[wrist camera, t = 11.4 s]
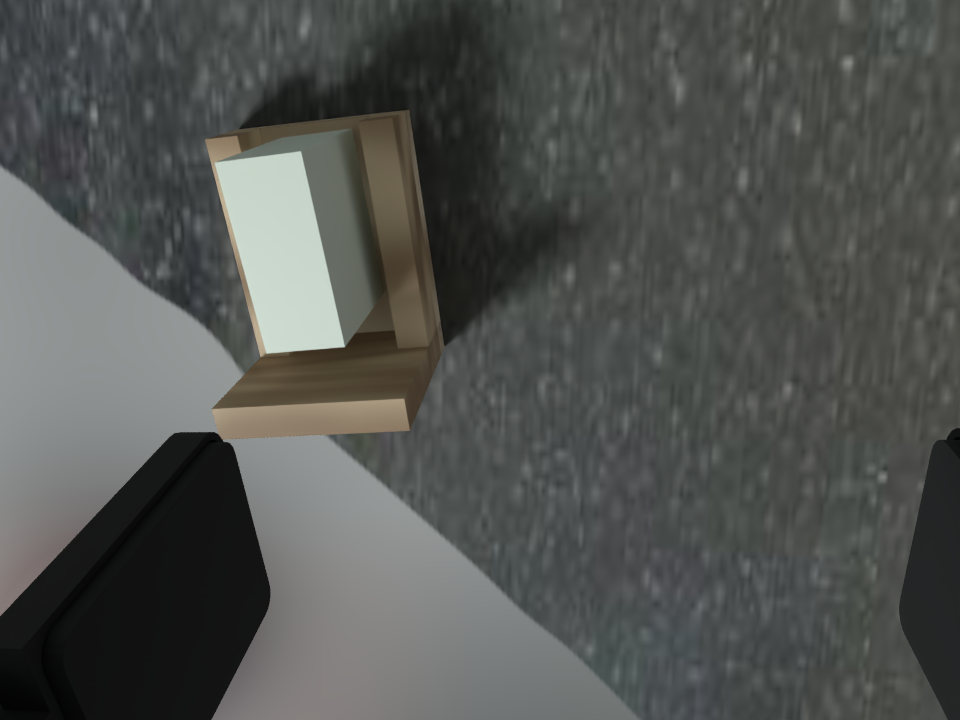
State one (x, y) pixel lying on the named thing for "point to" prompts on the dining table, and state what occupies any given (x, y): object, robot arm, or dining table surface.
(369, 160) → the track block
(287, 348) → the pale green tall block
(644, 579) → the dining table surface
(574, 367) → the dining table surface
